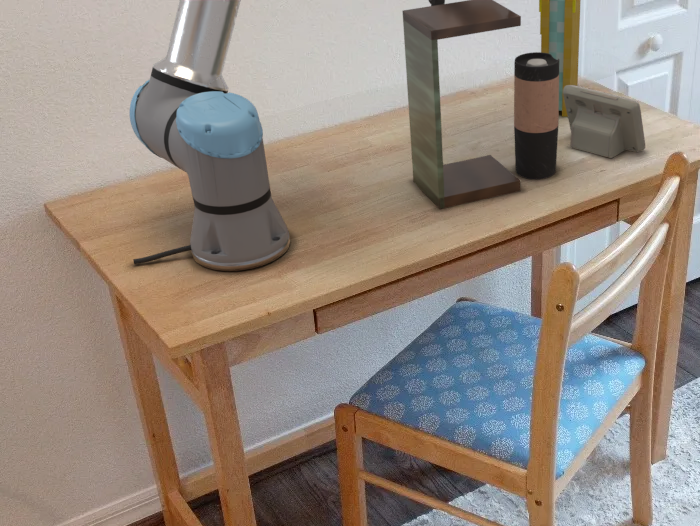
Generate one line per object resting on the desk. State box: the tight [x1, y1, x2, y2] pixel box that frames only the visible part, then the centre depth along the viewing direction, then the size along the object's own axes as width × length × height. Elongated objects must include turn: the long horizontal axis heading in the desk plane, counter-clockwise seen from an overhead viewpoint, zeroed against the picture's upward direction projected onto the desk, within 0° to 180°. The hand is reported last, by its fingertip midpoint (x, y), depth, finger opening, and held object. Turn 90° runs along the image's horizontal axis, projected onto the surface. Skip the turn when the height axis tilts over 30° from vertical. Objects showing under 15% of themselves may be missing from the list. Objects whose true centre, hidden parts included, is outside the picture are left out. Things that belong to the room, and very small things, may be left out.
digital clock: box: [563, 85, 646, 159], centre depth 183 cm, size 16×9×11 cm, turn 39°
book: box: [538, 0, 581, 118], centre depth 198 cm, size 17×7×25 cm, turn 168°
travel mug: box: [513, 51, 560, 180], centre depth 172 cm, size 8×8×20 cm
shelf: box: [402, 0, 522, 210], centre depth 165 cm, size 15×12×30 cm
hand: (471, 5), depth 162 cm, fingers open, 13 cm apart
